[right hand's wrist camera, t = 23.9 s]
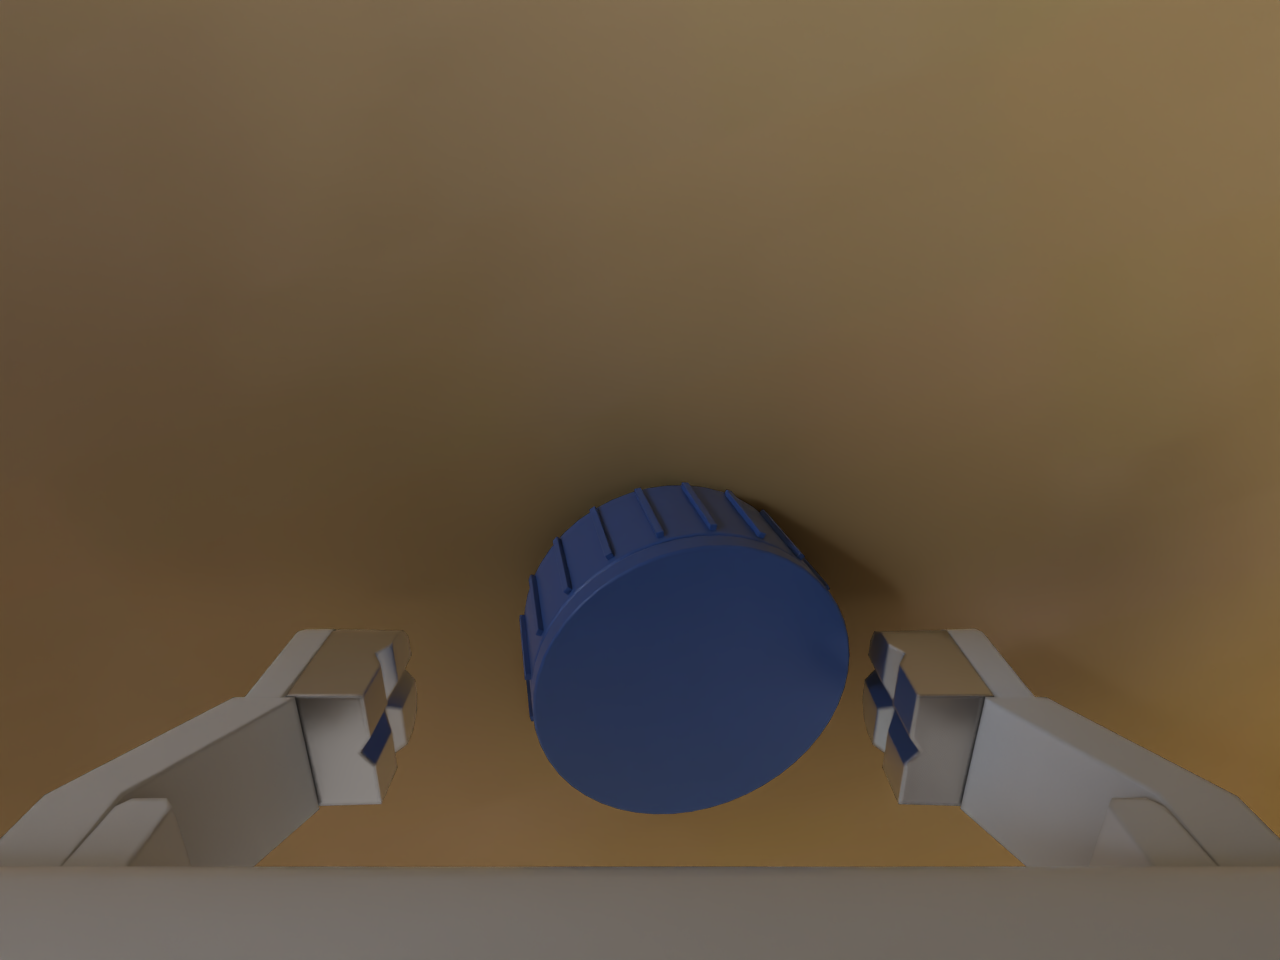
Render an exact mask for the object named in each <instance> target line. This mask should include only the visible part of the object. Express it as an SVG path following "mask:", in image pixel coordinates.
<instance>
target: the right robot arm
mask: <svg viewBox="0 0 1280 960" xmlns="http://www.w3.org/2000/svg"><path fill="white" fill-rule="evenodd" d="M411 655H412V654H411V648H410V643H409V637H408V635H407V634H406V633H405V632H404V631H403V630H357V629H338V630H336V629H304V630H301V631H298V632H297V633H296V634H295V635H294V636H293V638H292V639H291V640H290V641H289V643H288V644H287V645H286V646H285V648H284V649H283V650H282V651H281V653H280V654H279V655H278V656H277V658H276V659H275V660H274V661H273V663H272V664H271V665H270V666H269V668H268V669H267V670H266V671H265V672H264V674H263V675H262V676H261V677H260V679H259V680H258V681H257V682H256V684H255V685H254V686H253V687H252V689H251V690H250V691H249V692H248V694H247V695H246V696H245V697H233V698H231V699H229V700H227V701H225V702H224V703H222V704H220V705H218V706H216V707H214V708H212V709H210V710H208V711H206V712H204V713H202V714H200V715H198V716H196V717H194V718H193V719H191V720H189V721H187V722H185V723H183V724H181V725H179V726H177V727H175V728H173V729H171V730H169V731H167V732H165V733H163V734H162V735H160V736H158V737H156V738H154V739H152V740H150V741H148V742H146V743H144V744H142V745H140V746H138V747H136V748H134V749H132V750H131V751H129V752H127V753H125V754H123V755H121V756H119V757H117V758H115V759H113V760H111V761H109V762H107V763H105V764H103V765H101V766H100V767H98V768H96V769H94V770H92V771H90V772H88V773H86V774H84V775H82V776H80V777H78V778H76V779H74V780H72V781H71V782H69V783H67V784H65V785H63V786H61V787H59V788H57V789H55V790H53V791H51V792H49V793H47V794H45V795H44V796H43V797H42V798H41V799H40V800H39V801H38V802H37V803H36V804H35V805H34V806H33V807H32V808H31V809H30V810H29V811H28V812H27V813H26V814H25V815H24V816H23V817H22V818H21V819H20V820H19V821H18V822H17V823H16V824H15V825H14V826H13V827H12V828H11V829H10V830H9V831H8V832H7V833H6V834H5V835H4V836H2V837H1V838H0V960H1280V838H1279V837H1278V836H1277V835H1276V834H1275V833H1274V832H1273V831H1272V830H1271V829H1270V828H1269V827H1268V826H1267V825H1266V824H1265V823H1264V822H1263V821H1262V820H1261V819H1260V818H1259V817H1258V816H1257V815H1256V814H1255V813H1254V812H1253V811H1252V810H1251V809H1250V808H1249V807H1248V806H1247V805H1246V804H1245V803H1244V802H1243V801H1242V800H1241V799H1240V798H1239V797H1237V796H1236V795H1234V794H1232V793H1230V792H1228V791H1226V790H1224V789H1222V788H1220V787H1219V786H1217V785H1215V784H1213V783H1211V782H1209V781H1207V780H1205V779H1203V778H1201V777H1199V776H1197V775H1195V774H1193V773H1191V772H1190V771H1188V770H1186V769H1184V768H1182V767H1180V766H1178V765H1176V764H1174V763H1172V762H1170V761H1168V760H1166V759H1164V758H1163V757H1161V756H1159V755H1157V754H1155V753H1153V752H1151V751H1149V750H1147V749H1145V748H1143V747H1141V746H1139V745H1137V744H1136V743H1134V742H1132V741H1130V740H1128V739H1126V738H1124V737H1122V736H1120V735H1118V734H1116V733H1114V732H1112V731H1110V730H1108V729H1107V728H1105V727H1103V726H1101V725H1099V724H1097V723H1095V722H1093V721H1091V720H1089V719H1087V718H1085V717H1083V716H1081V715H1080V714H1078V713H1076V712H1074V711H1072V710H1070V709H1068V708H1066V707H1064V706H1062V705H1060V704H1058V703H1056V702H1054V701H1052V700H1051V699H1049V698H1047V697H1035V696H1034V695H1033V694H1032V693H1031V691H1030V690H1029V689H1028V688H1027V686H1026V685H1025V684H1024V683H1023V681H1022V680H1021V679H1020V678H1019V676H1018V675H1017V674H1016V673H1015V671H1014V670H1013V669H1012V668H1011V667H1010V665H1009V664H1008V663H1007V662H1006V660H1005V659H1004V658H1003V657H1002V655H1001V654H1000V653H999V652H998V650H997V649H996V648H995V647H994V645H993V644H992V643H991V642H990V641H989V639H988V638H987V637H986V636H985V634H984V633H983V632H981V631H979V630H977V629H975V628H974V629H946V630H923V631H874V633H873V636H872V638H871V640H870V647H869V653H868V656H869V658H870V660H871V662H872V664H873V666H874V668H875V670H874V671H873V672H872V673H871V674H870V675H869V676H868V677H867V678H866V679H865V681H864V690H863V713H864V720H865V724H866V728H867V732H868V734H869V737H870V739H871V742H872V744H873V745H874V746H876V747H877V748H878V749H880V750H881V751H882V752H884V753H885V754H884V760H883V767H882V768H883V770H884V772H885V774H886V777H887V779H888V781H889V784H890V786H891V788H892V790H893V793H894V795H895V797H896V799H897V802H898V804H914V805H950V806H961V808H960V809H961V810H963V811H964V812H965V813H966V814H967V815H968V816H969V817H970V818H972V819H973V820H974V821H975V822H976V823H977V824H978V825H980V826H981V827H982V828H983V829H984V830H985V831H986V832H988V833H989V834H990V835H991V836H992V837H993V838H994V839H996V840H997V841H998V842H999V843H1000V844H1001V845H1002V846H1004V847H1005V848H1006V849H1007V850H1008V851H1009V852H1010V853H1012V854H1013V855H1014V856H1015V857H1016V858H1017V859H1018V860H1020V861H1021V862H1022V863H1023V864H1024V865H1025V866H1026V867H254V866H255V865H256V864H257V863H258V862H259V861H261V860H262V859H263V858H264V857H265V856H266V855H267V854H269V853H270V852H271V851H272V850H273V849H274V848H275V847H277V846H278V845H279V844H280V843H281V842H282V841H283V840H285V839H286V838H287V837H288V836H289V835H290V834H291V833H293V832H294V831H295V830H296V829H297V828H298V827H299V826H301V825H302V824H303V823H304V822H305V821H306V820H307V819H309V818H310V817H311V816H312V815H313V814H314V813H315V812H317V811H318V810H319V806H329V805H364V804H382V802H383V799H384V797H385V795H386V793H387V790H388V788H389V786H390V783H391V781H392V779H393V776H394V774H395V772H396V770H397V761H396V755H395V753H396V752H397V751H399V750H400V749H402V748H403V747H404V746H406V745H407V744H408V741H409V739H410V736H411V734H412V731H413V729H414V723H415V718H416V713H417V689H416V681H415V679H414V678H413V677H412V676H411V675H410V674H409V673H408V672H407V671H406V670H405V668H406V666H407V664H408V662H409V660H410V657H411Z"/></svg>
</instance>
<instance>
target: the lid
mask: <svg viewBox="0 0 1280 960" xmlns="http://www.w3.org/2000/svg"><path fill="white" fill-rule="evenodd" d="M634 491H635V492H632V493H628V494H626V495H623V496H621V497H618V498H616V499H613V500H611V501H609V502H607V503H605V504H603V505H601V506H599V507H598V508H596V507H595V506H594V507H593V508H591V509H589V510H590V513H588V514H587V515H585V516H584V517H582V518H581V519H580V520H578V521H577V522H576V523H575V524H574V525H573V526H571V527H570V528H569V529H568V530H567V531H566V532H565V533H564V534H563V535H562V536H561V537H560V538H559V537H556V538H555V539H554V540H553V546H552V547H551V549H550V550H549V552H548V553H547V555H546V556H545V558H544V559H543V561H542V562H541V564H540V566H539V568H538V570H537V572H536V574H535V575H532V574H531V575H530V578H529V586H530V589H529V592H528V595H527V601H526V607H525V615H520V631H521V642H522V653H523V664H524V675H525V680H526V682H527V693H528V703H529V714H530V719H531V721H534V725H535V730H536V733H537V736H538V739H539V742H540V745H541V747H542V749H543V751H544V753H545V755H546V757H547V759H548V760H549V762H550V763H551V764H552V766H553V767H554V768H555V769H556V771H557V772H558V773H559V774H560V775H561V776H562V777H563V778H564V779H565V780H566V781H567V782H568V783H569V784H570V785H571V786H573V787H574V788H575V789H577V790H578V791H580V792H581V793H583V794H584V795H586V796H588V797H590V798H592V799H594V800H596V801H598V802H600V803H602V804H605V805H608V806H611V807H614V808H617V809H621V810H626V811H631V812H636V813H647V814H676V813H684V812H692V811H697V810H701V809H706V808H711V807H714V806H717V805H720V804H723V803H726V802H729V801H732V800H734V799H736V798H739V797H741V796H743V795H746V794H748V793H750V792H752V791H754V790H755V789H757V788H759V787H761V786H763V785H765V784H766V783H768V782H769V781H771V780H772V779H774V778H775V777H777V776H778V775H780V774H781V773H782V772H783V771H785V770H786V769H787V768H788V767H790V766H791V765H792V764H793V763H795V762H796V761H797V760H798V759H799V758H800V757H801V756H802V755H803V754H804V753H805V752H806V751H807V750H808V749H809V748H810V747H811V745H812V744H813V743H814V742H815V741H816V739H817V738H818V737H819V736H820V734H821V733H822V731H823V730H824V729H825V727H826V726H827V724H828V723H829V721H830V719H831V717H832V716H833V714H834V712H835V710H836V708H837V706H838V704H839V701H840V698H841V696H842V693H843V690H844V687H845V683H846V678H847V674H848V666H849V641H848V634H847V630H846V626H845V621H844V619H843V616H842V614H841V611H840V609H839V607H838V605H837V603H836V602H835V600H834V598H833V597H832V595H831V594H830V592H829V591H828V590H830V588H829V586H828V584H827V583H826V582H825V581H824V580H823V579H822V577H821V576H820V575H819V574H818V573H817V572H816V570H815V569H814V568H813V567H812V566H811V565H810V564H809V562H808V561H807V560H806V559H805V558H804V557H805V556H804V555H803V554H802V552H801V551H800V550H799V549H798V548H797V547H796V546H795V544H794V543H793V542H792V541H791V540H790V539H789V537H788V536H787V535H786V534H785V533H784V532H783V531H782V529H781V528H780V527H779V526H778V525H777V524H776V523H775V521H774V520H773V519H772V518H771V517H770V516H769V514H768V513H767V512H766V511H764V510H763V509H762V510H761V511H760V512H758V511H757V510H756V509H755V508H753V507H752V506H750V505H749V504H747V503H745V502H744V501H742V500H740V499H738V498H737V497H736V496H735V495H734V494H733V493H732V491H729V490H726V491H725V493H724V492H721V491H717V490H713V489H709V488H705V487H696V486H690V485H689V483H688V482H682V484H681V485H675V486H661V487H653V488H647V489H643V490H642V489H641V488H636V489H634Z"/></svg>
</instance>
